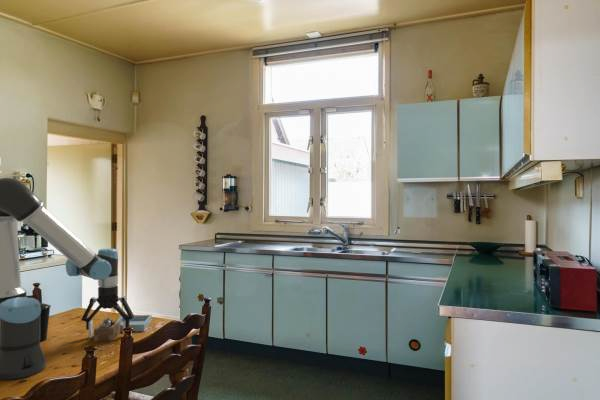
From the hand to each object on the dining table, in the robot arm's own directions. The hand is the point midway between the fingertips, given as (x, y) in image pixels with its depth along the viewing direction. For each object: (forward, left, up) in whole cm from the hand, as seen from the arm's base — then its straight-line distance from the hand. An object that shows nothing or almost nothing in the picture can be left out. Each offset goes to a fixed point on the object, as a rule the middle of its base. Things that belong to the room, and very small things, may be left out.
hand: (107, 336), depth 175 cm
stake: (-1, 0, 0) cm, 1 cm away
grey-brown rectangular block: (0, 0, 0) cm, 0 cm away
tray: (+14, -6, 0) cm, 15 cm away
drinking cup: (-1, +26, 0) cm, 26 cm away
